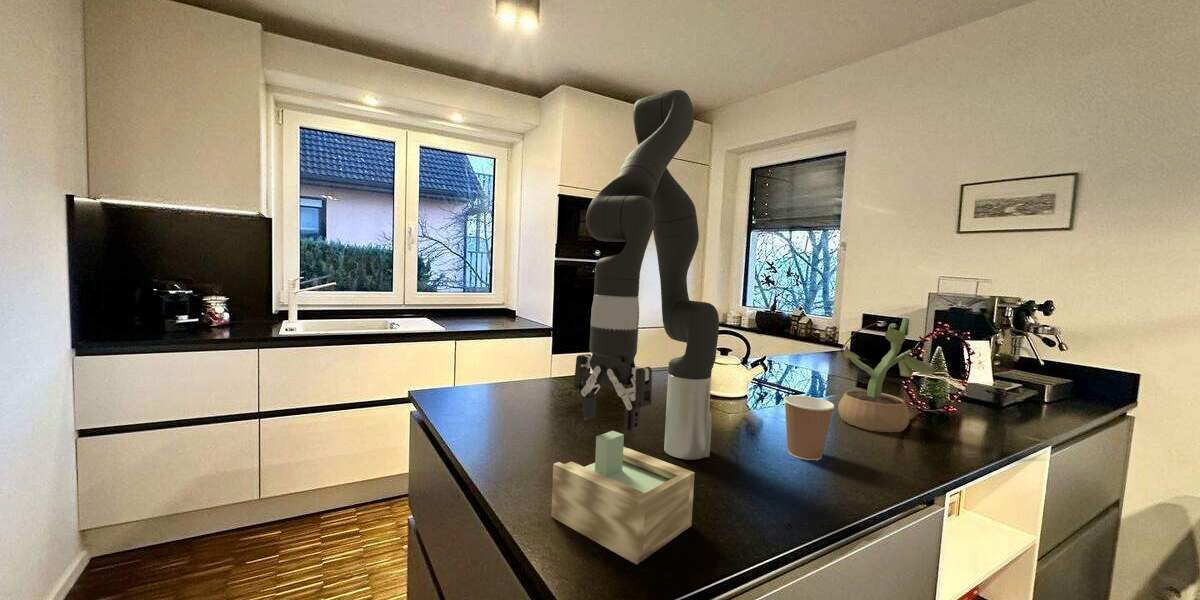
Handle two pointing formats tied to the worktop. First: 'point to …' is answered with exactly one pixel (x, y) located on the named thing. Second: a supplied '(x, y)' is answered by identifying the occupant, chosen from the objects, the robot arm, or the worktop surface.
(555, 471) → the box
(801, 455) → the coffee cup
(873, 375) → the potted plant
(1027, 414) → the worktop surface
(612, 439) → the lid
